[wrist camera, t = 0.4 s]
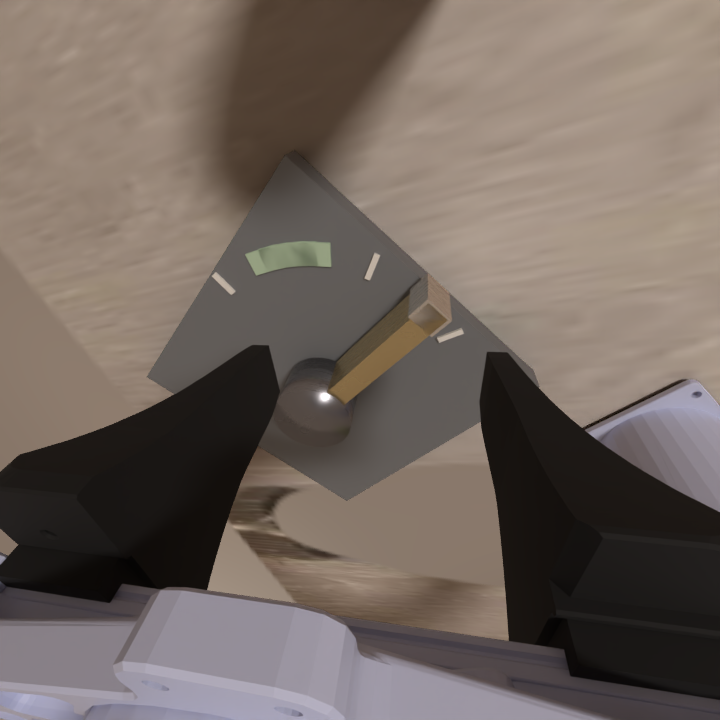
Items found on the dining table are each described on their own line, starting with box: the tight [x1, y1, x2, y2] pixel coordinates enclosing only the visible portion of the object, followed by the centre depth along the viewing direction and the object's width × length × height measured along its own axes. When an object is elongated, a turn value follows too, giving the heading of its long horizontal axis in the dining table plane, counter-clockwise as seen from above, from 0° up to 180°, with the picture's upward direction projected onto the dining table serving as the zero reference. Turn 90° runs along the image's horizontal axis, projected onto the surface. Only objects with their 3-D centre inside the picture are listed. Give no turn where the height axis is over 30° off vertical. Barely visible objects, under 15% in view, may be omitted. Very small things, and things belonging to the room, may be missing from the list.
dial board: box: [147, 151, 539, 501], centre depth 24 cm, size 18×18×2 cm
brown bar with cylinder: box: [274, 273, 452, 447], centre depth 20 cm, size 4×12×3 cm, turn 140°
